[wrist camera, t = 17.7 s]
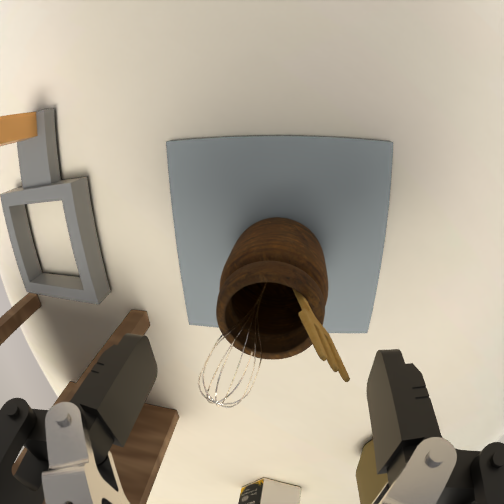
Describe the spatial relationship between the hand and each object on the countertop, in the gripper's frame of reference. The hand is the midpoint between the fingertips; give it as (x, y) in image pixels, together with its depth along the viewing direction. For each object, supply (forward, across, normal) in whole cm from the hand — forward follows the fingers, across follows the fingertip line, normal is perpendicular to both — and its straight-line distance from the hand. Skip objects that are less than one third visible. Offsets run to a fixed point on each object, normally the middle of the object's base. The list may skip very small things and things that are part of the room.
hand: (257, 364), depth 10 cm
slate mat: (+11, 0, 0) cm, 11 cm away
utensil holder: (+11, 0, +1) cm, 11 cm away
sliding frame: (+11, +19, -3) cm, 22 cm away
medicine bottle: (+11, 0, +42) cm, 44 cm away
